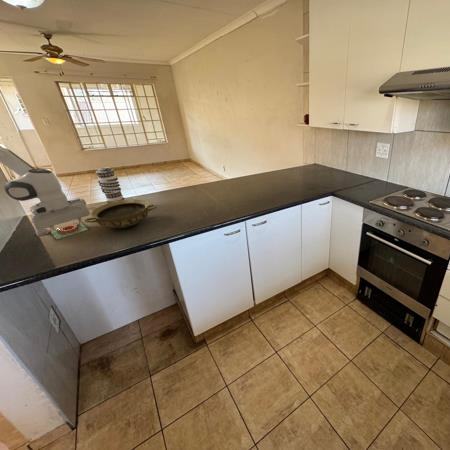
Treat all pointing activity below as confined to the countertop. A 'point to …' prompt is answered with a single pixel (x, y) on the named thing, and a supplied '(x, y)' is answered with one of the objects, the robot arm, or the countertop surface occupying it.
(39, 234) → the rook chess piece
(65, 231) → the ring
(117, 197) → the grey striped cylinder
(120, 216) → the ceramic bowl
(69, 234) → the mat
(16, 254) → the countertop surface
